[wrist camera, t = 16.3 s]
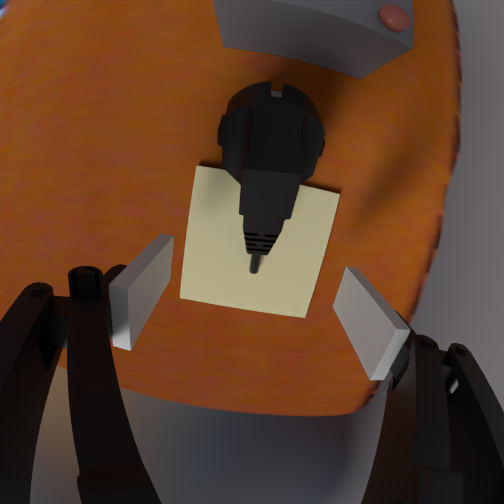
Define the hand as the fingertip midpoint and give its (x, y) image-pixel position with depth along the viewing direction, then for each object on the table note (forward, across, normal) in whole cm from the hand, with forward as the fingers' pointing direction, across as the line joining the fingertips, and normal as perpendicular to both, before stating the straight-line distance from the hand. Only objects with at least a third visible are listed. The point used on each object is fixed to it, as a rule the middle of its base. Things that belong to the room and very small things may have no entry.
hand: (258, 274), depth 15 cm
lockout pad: (+5, 0, 0) cm, 5 cm away
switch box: (+5, 0, +19) cm, 20 cm away
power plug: (+7, 0, 0) cm, 7 cm away
